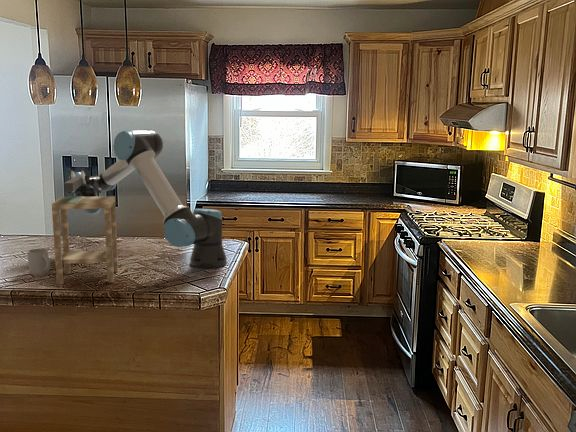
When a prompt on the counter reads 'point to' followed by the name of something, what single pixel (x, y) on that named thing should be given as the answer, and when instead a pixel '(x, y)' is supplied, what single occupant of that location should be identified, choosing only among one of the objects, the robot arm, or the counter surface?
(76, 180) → the grey square bar
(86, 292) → the counter surface
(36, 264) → the cup
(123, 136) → the robot arm
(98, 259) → the stand
